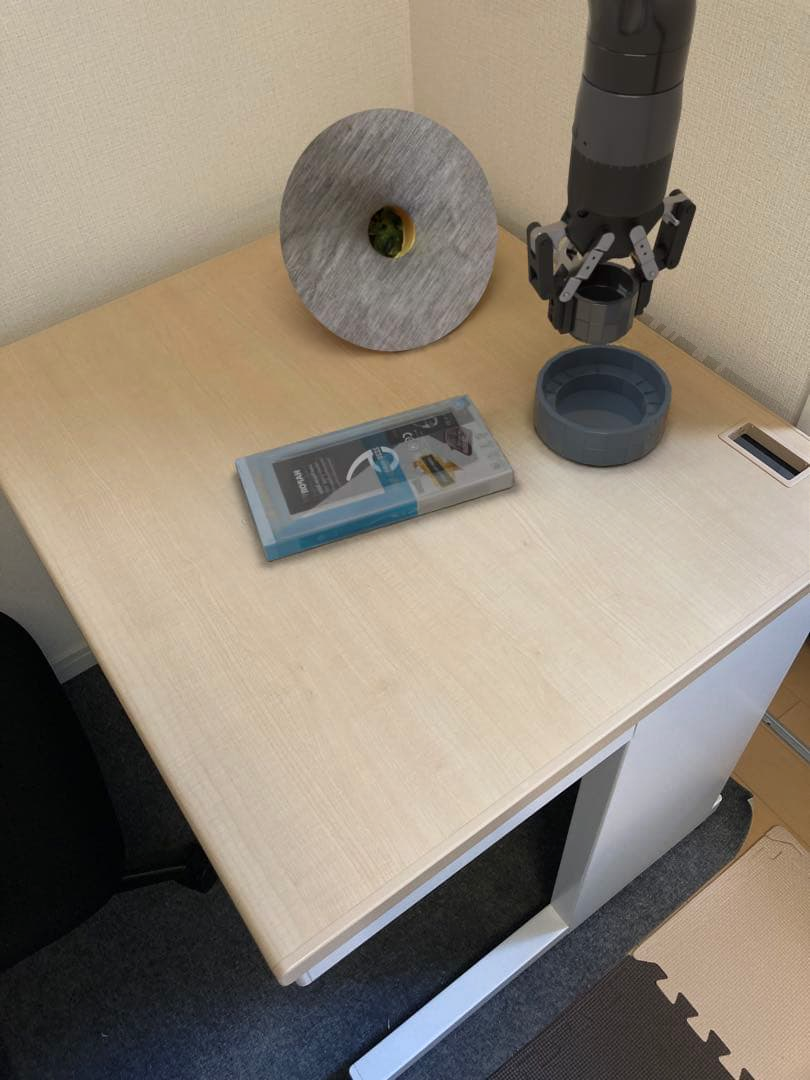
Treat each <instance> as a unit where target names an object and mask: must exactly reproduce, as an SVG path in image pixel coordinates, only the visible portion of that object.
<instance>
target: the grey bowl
mask: <svg viewBox="0 0 810 1080" xmlns="http://www.w3.org/2000/svg"><path fill="white" fill-rule="evenodd" d="M672 392H673V387H672V384H671V381H670V380H669V377H668V375H667V373H666V372H665V371H664V369H663V368H661V366H660V365H659V364H658V363H657V362H656V361H655V360H653V359H651V358H650V357H648V356H647V355H645V354H644V353H642V352H640V351H638V350H634V349H631V348H628V347H624V346H621V345H616V344H603V345H593V344H582V345H580V344H579V345H575V346H574V347H570V348H567V349H565V350H562V351H560V352H558V353H557V354H555V355H554V356H552V357H550V358H549V359H548V360H546V362H545V363H544V364H543V366H542V367H541V369H540V370H539V371H538V373H537V377H536V384H535V390H534V403H533V413H532V414H533V415H532V420H533V423H534V428H535V431H536V434H537V435H538V436H539V437H540V439H541V441H542V442H544V444H545V445H546V446H547V447H548V448H550V449H551V450H552V451H553V452H555V453H557V454H558V455H560V456H561V457H563V458H566V459H568V460H571V461H574V462H577V463H579V464H583V465H591V466H599V467H606V466H607V467H608V466H615V465H623V464H627V463H630V462H633V461H636V460H639V459H641V458H643V457H644V456H645V455H647V454H648V453H650V451H652V450H653V449H654V448H656V447H657V445H658V444H659V442H660V441H661V438H662V437H663V435H664V432H665V428H666V424H667V419H668V416H669V412H670V408H671V403H672Z"/></svg>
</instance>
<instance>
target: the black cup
mask: <svg viewBox="0 0 810 1080" xmlns="http://www.w3.org/2000/svg"><path fill="white" fill-rule="evenodd" d="M630 269H631V268H628V267H627V266H625V265H622V264H619V263H617V262H613V261H607V262H605V263H602V264H597V265H596V266H595V268H594V270H593V271H592V273H591V275H590V276H589V278H588V279H587V280H583V281H582V282H581V283H580V285H579V286H578V288H577V290H576V291H575V293H574V295H573V296H572V298H573V299H574V302H573V311H572V319H571V328H570V333H568V334H569V336H571V337H572V338H573V339H574V340H577V341H579V342H581V343H584V344H586V345H589V344H593V345H603V344H608V345H610V344H612V343H615V342H617V341H619V340H620V339H622V338H623V337H625V336H626V335H627V334H628V333H629V332H630V330H631V329H632V328H633V324H634V320H635V316H634V315H635V309H636V304H637V298H638V293H639V284H640V282H639V280H638V278H637V276H636V274H635V273H634V272H633V271H631V270H630ZM568 274H569V273H568ZM567 276H568V275H567ZM566 278H567V277H566ZM566 278H565V280H566Z"/></svg>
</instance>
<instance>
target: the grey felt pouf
mask: <svg viewBox="0 0 810 1080" xmlns="http://www.w3.org/2000/svg"><path fill="white" fill-rule="evenodd" d="M280 204H281V205H280V212H279V243H280V249H281V255H282V259H283V264H284V267H285V270H286V273H287V275H288V278H289V280H290V282H291V285H292V286H293V288H294V291H295V292H296V294H297V295H298V297H299V299H300V300H301V302H302V303H303V304H304V307H306V309H307V310H308V311H309V312H310V313H311V315H312V316H313V317H314V318H315V319H316V320H317V321H318V322H319V323H320V324H321V325H322V326H324V327H325V328H326V329H327V330H329V331H330V332H332V333H333V334H334V335H336V336H338V337H339V338H341V339H342V340H345V341H346V342H349V343H351V344H353V345H355V346H358V347H362V348H365V349H369V350H375V351H381V352H400V351H409V350H414V349H419V348H421V347H424V346H427V345H430V344H432V343H434V342H436V341H438V340H440V339H442V338H443V337H445V336H447V335H448V334H450V333H451V332H452V331H454V330H455V329H456V328H457V327H458V326H459V325H460V324H462V322H463V321H464V320H465V319H466V318H467V317H468V316H469V315H470V314H471V312H472V311H473V310H474V308H475V307H476V306H477V304H478V303H479V301H480V300H481V298H482V296H483V294H484V293H485V290H486V289H487V286H488V284H489V280H490V278H491V276H492V272H493V268H494V265H495V264H494V263H495V258H496V253H497V248H498V242H499V241H498V240H499V228H498V218H497V213H496V207H495V201H494V197H493V194H492V189H491V187H490V184H489V181H488V179H487V176H486V174H485V172H484V170H483V169H482V166H481V165H480V163H479V161H478V160H477V159H476V157H475V156H474V154H473V153H472V151H471V150H470V149H469V148H468V147H467V145H465V143H463V141H462V140H460V138H459V137H458V136H457V135H455V134H454V133H453V132H452V131H450V130H449V129H448V128H446V127H445V126H444V125H442V124H440V123H439V122H437V121H435V120H433V118H429V117H427V116H426V115H423V114H420V113H416V112H414V111H410V110H406V109H399V108H390V107H389V108H388V107H384V108H372V109H366V110H361V111H358V112H355V113H352V114H349V115H347V116H345V117H342V118H341V119H339V120H337V121H335V122H333V123H332V124H330V125H329V126H327V127H326V128H325V129H323V130H322V131H321V132H320V133H319V134H318V135H316V136H315V137H314V139H312V141H310V142H309V143H308V145H307V146H306V147H305V149H304V150H303V151H302V153H301V154H300V156H299V157H298V159H297V160H296V162H295V164H294V166H293V167H292V170H291V172H290V174H289V176H288V179H287V181H286V185H285V188H284V191H283V195H282V199H281V203H280Z"/></svg>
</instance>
